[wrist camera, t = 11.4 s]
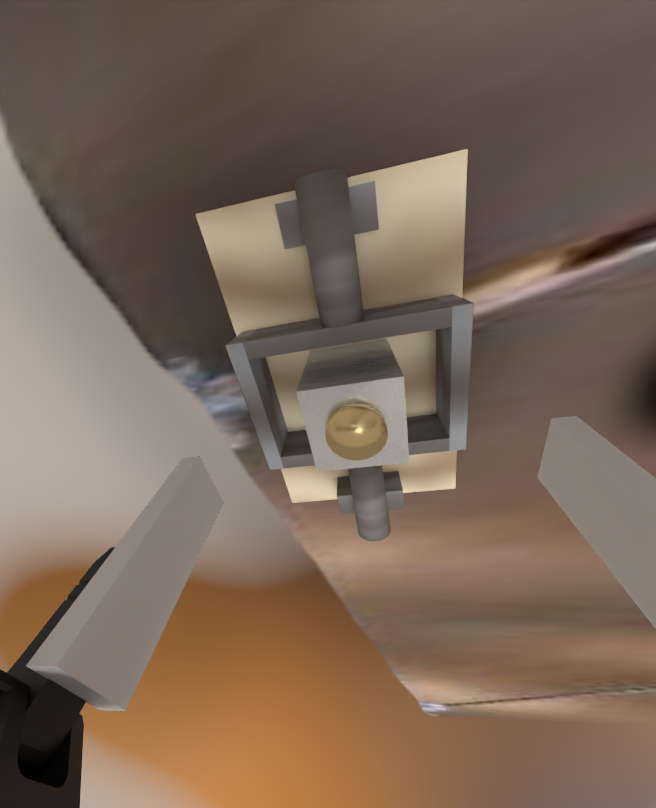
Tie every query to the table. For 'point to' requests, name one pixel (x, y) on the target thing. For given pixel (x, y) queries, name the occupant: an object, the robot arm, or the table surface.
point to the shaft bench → (381, 279)
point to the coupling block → (354, 406)
